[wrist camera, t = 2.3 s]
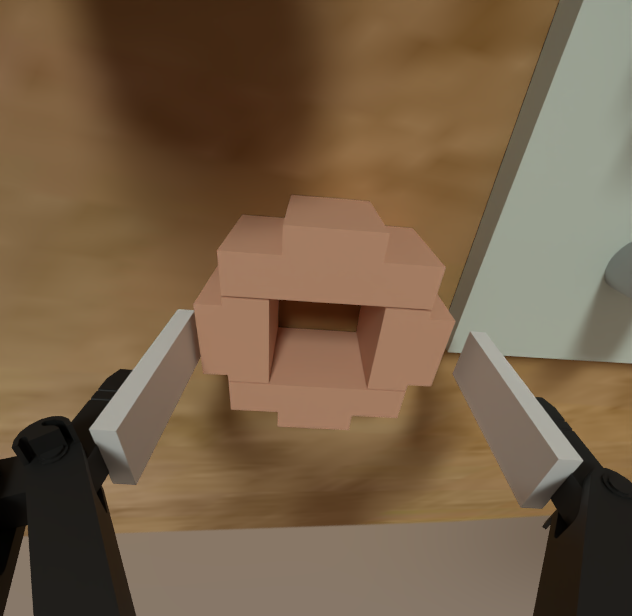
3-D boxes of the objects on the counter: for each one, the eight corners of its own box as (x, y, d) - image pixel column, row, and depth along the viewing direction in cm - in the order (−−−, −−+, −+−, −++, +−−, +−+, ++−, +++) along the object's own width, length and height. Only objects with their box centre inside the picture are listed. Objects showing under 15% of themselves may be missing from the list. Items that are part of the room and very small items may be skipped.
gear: (230, 362, 22) (210, 423, 17) (216, 188, 16) (180, 217, 11) (394, 371, 22) (413, 433, 18) (441, 206, 16) (486, 240, 12)
